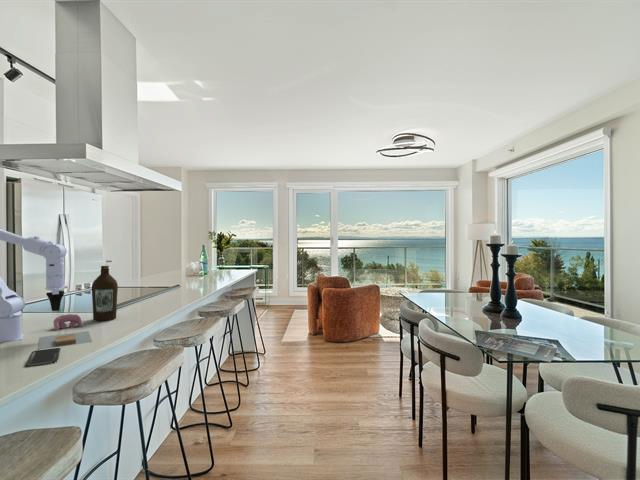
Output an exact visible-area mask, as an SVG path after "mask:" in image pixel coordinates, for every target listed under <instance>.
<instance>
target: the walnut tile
mask: <svg viewBox="0 0 640 480" xmlns="http://www.w3.org/2000/svg"><path fill="white" fill-rule="evenodd" d="M55 343H56V346H60V347H62V346H61V345H67V346H69V345H68V344H75V343H76V337H75V334H73V335H65V336H57V337H55ZM75 345H76V344H75Z"/></svg>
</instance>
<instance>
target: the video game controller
mask: <svg viewBox="0 0 640 480" xmlns="http://www.w3.org/2000/svg"><path fill="white" fill-rule="evenodd" d="M67 322H68V323H69V324H68V325H67ZM76 324H77V326H78V327H79V328H82V327H83V321H82V319H81V317H80V315H78V314H74V313H72V314H71V313H70V314H63V315H60V316H59V315H58V316H57V317H56V318H55V319H54V320H53V327H54V330H55V332H56V331H59V329H65V328H67V327H69V328H74V327H75V326H76Z"/></svg>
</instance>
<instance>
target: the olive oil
mask: <svg viewBox="0 0 640 480" xmlns="http://www.w3.org/2000/svg"><path fill="white" fill-rule="evenodd" d="M118 288H119V285H118V281H117V280H116V279H115V278H114V277H113V276H112V275H111V274H110V268H109V265H100V274H99V275H98V276H97V277H96V278H95V279H94V280H93V282H92V284H91V299H92V301H91V302H92V319H93V321H94V322H107V321H113V320H115V319H117V311H118V309H117V308H118V290H119V289H118Z"/></svg>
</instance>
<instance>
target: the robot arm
mask: <svg viewBox="0 0 640 480" xmlns="http://www.w3.org/2000/svg"><path fill="white" fill-rule="evenodd" d="M0 241H2V242H7V243H9V244H13V245H17V246H21V248H22V249H23V250H24V251H25V252H29V253H31V254H35V255H39V256H42V257H44V259H45V290H46V291H50V292H46V296H47V298H48V300H49V303H50V308H51V309H50V310H51V311H52V312H59V311H60V308H61V303H62V298H63V297H64V295H65V290H64V289H68V288H69V286H68V285H65V256H66V255H67V252H68V251H67V247H66V246H64V245H63V244H62V243H55V244H54V242H53V241H51V240H49V241H48V240H45V239H41V238H40V236H37V235H35V236H29V237H25V236H22V235H18V234H16V233H14V232H10V231H8V230H5V229H1V228H0ZM25 308H26V301H25V300H24V298H23V297H21V296H19V295H18V294H17V292H15V290H12V289H10V287H9V286H7V284H6V283H5V281H4V280H3V278H2V276H1V275H0V343H4V342H5V343H6V342H12V341H13V342H14V341H21V340H23V338H24V335H25V333H24V332H23V331H22V330H23V329H22V328H23V323H22V320H23V319H22V311H23V310H24V309H25Z"/></svg>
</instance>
